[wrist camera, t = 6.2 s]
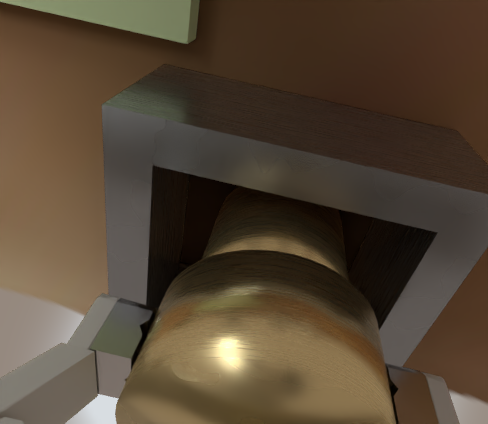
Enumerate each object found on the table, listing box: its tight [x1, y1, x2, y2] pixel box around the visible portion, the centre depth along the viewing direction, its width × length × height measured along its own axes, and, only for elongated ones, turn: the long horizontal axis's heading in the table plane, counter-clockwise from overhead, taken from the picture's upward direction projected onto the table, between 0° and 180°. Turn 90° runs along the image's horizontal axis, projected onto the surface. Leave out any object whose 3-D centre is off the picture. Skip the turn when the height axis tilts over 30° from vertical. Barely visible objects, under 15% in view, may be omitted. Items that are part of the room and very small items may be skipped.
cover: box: [115, 186, 396, 424], centre depth 11 cm, size 6×6×8 cm
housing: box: [102, 64, 488, 367], centre depth 13 cm, size 10×10×4 cm
